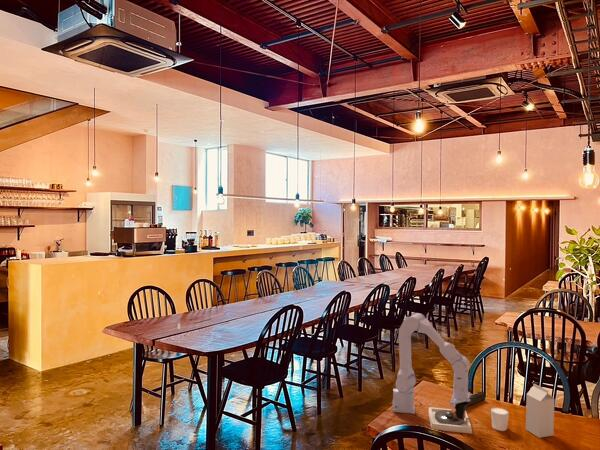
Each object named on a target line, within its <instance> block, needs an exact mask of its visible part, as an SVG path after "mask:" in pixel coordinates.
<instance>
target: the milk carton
mask: <svg viewBox="0 0 600 450" xmlns="http://www.w3.org/2000/svg"><path fill="white" fill-rule="evenodd" d="M525 403H526V405H525V406H526V411H525V412H526V413H525V430H526V431H528V432H529V433H531V434H533V435H534V436H536V437H537V438H539V439H541V438H545V437H546V438H547V437H551V436H552V437H553V436H554V430H555V429H554V427H555V426H554V425H555V398H554V396H552V395H551V394H550V393H549V391H548V389H547V388H544V387H542V386H540V385H537V384H536V383H533V386H532V387H531V389H529V391H528V392H527V393H526V402H525Z"/></svg>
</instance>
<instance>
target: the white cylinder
mask: <svg viewBox="0 0 600 450" xmlns="http://www.w3.org/2000/svg"><path fill="white" fill-rule="evenodd" d="M509 412H510V411H508V410H507V409H504V408H501V407H492V408H491V409H490V413H491V414H490V415H491V417H490V418H491V426H492V428H493V429H494V430H497V431H499V432H500V431H501V432H504V431H506V430H508V422H509V416H510V415H509V414H510V413H509Z"/></svg>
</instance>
